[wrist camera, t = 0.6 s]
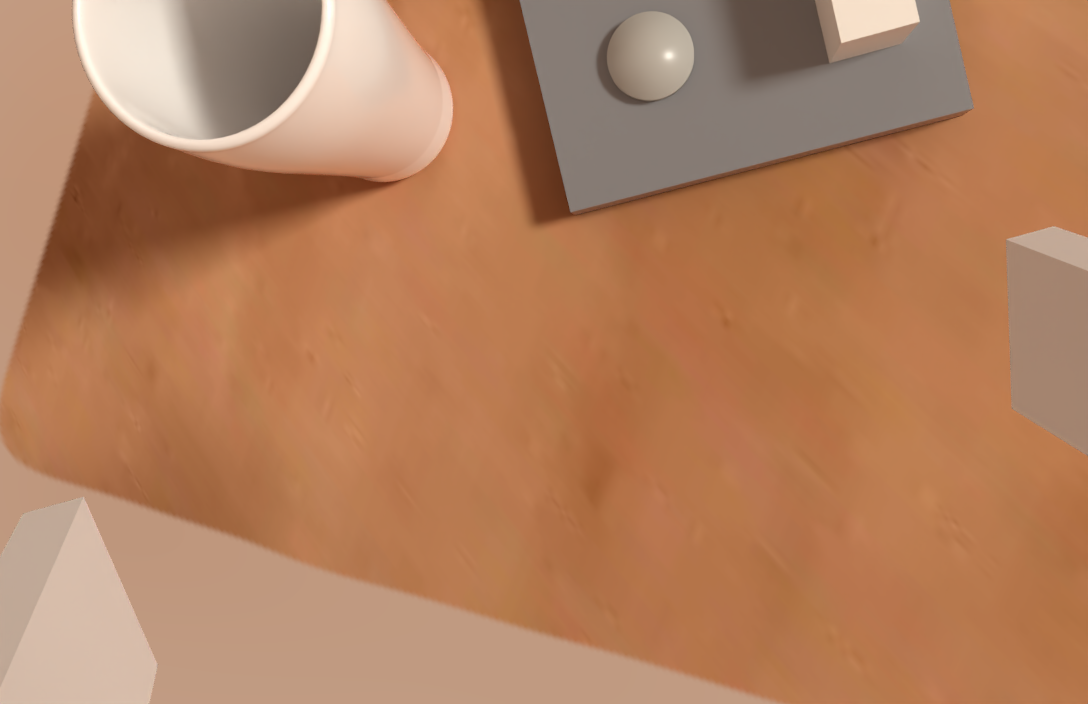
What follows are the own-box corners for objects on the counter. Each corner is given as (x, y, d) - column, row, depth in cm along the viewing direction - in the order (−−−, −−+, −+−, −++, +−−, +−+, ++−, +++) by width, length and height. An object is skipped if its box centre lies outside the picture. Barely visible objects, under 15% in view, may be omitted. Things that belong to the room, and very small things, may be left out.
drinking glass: (269, 101, 40) (11, -7, 25) (401, -16, 38) (214, -203, 24) (376, 239, 39) (180, 213, 24) (512, 124, 38) (394, 24, 23)
